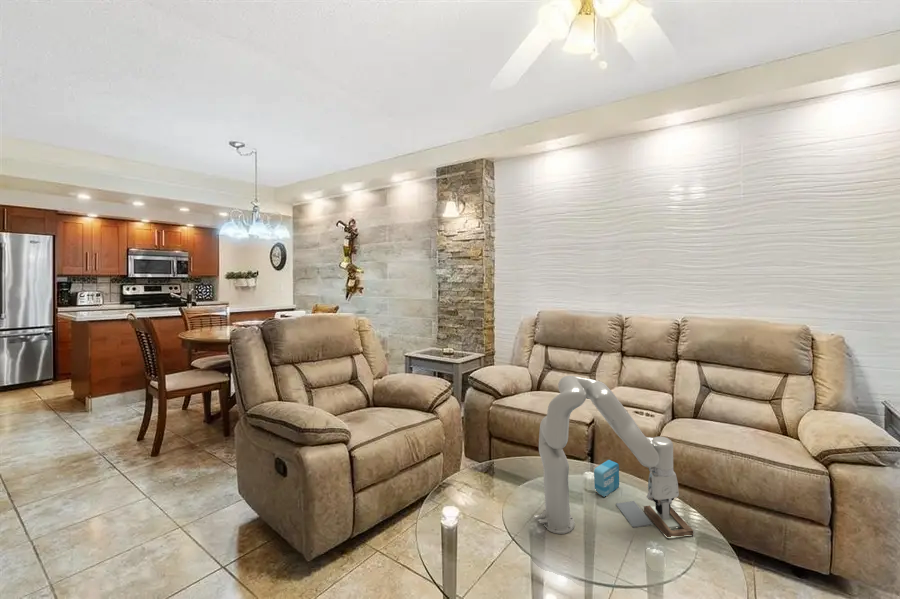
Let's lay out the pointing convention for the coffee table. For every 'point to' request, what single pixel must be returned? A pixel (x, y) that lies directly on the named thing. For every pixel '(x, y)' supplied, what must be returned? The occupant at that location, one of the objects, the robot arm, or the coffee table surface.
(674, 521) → the cover plate
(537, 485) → the coffee table surface
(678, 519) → the brown u-shaped frame
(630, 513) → the felt pad
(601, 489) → the data package
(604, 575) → the coffee table surface
